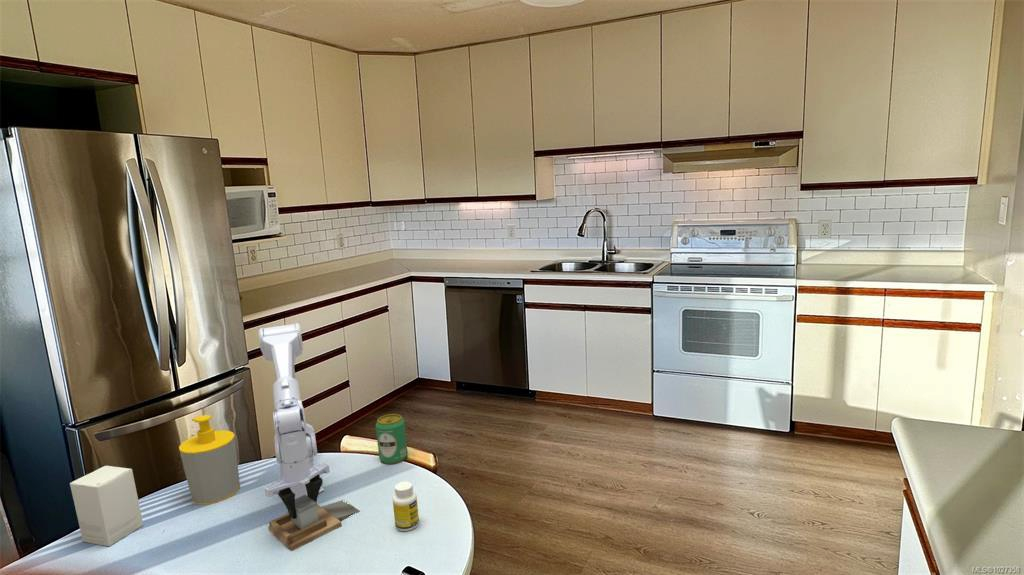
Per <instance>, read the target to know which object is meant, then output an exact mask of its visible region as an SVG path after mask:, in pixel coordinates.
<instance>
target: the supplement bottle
mask: <svg viewBox="0 0 1024 575" xmlns="http://www.w3.org/2000/svg"><path fill="white" fill-rule="evenodd" d="M392 508H393V516H394V525H395V528H396V529H397V530H398V531H400V532H409V531H413V530H415V529H416V528H417V527H418V526H419V524H420V518H419V508H418V495H417V493H416V492H415V491H414V486H413V483H412V482H411V481H401V482H398V483H397V484H395V486H394V495H393V497H392Z"/></svg>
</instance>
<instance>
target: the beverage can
mask: <svg viewBox="0 0 1024 575" xmlns="http://www.w3.org/2000/svg"><path fill="white" fill-rule="evenodd" d="M375 433H376V442H377V449H378V450H377V451H378V457H379V459H380V461H381V463H383V464H385V463H387V464H386V465H394V464H398V462H399V463H402V462H403V461H404V460H406V458H407V456H408V445H407V436H406V435H407V434H406V425H405V420H404V418H403V417H402V415H400V414H398V413H397V414H396V413H390V414H385V415H382V416H380V417H378V418H377V420H376V423H375Z"/></svg>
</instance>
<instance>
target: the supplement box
mask: <svg viewBox="0 0 1024 575" xmlns="http://www.w3.org/2000/svg"><path fill="white" fill-rule="evenodd" d="M69 486H70V491H71V495H72V499H73V503H74V507H75V512H76V517H77V521H78V525H79V530H80V535H81V538H82V542H84V543H88V544H95V545H100V546H103V547H110V546H112V545H115V543H118V541H120V540H122V539H124V538H125V537H126V536H128V535H131V534H132V533H133V532H134V531H137V530H138V529H140V528H141V527H143V526H144V522H143V518H142V513H141V511H142V510H141V507H140V506H141V505H140V503H139V497H138V496H139V495H138V492H137V487H136V483H135V478H134V472H133V469H132V468H127V467H120V466H111V465H104V466H102V467H100V468H97V469H96V470H94V471H92V472H90V473H87V474H85V475H84V476H81V477H79V478H77V479H75V480H73V481H72V482H69Z"/></svg>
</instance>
